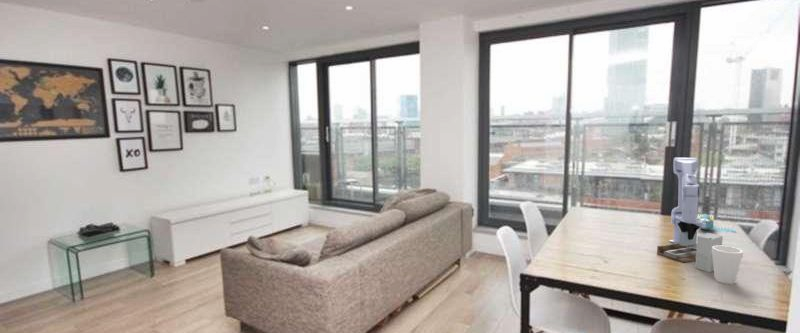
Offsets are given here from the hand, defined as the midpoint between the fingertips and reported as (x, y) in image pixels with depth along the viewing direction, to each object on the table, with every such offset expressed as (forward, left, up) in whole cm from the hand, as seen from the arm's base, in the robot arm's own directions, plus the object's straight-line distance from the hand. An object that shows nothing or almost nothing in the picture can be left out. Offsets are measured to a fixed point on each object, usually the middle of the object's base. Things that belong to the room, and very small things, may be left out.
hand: (687, 238), depth 185 cm
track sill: (+2, 0, -8) cm, 8 cm away
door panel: (0, 0, -3) cm, 3 cm away
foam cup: (+13, +26, -8) cm, 30 cm away
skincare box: (+7, +15, -8) cm, 19 cm away
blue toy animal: (-50, -28, -9) cm, 57 cm away
